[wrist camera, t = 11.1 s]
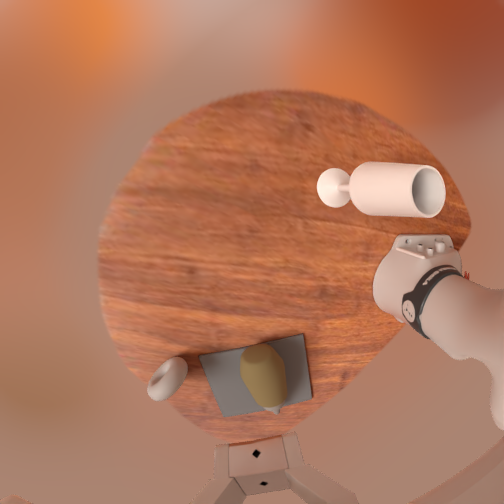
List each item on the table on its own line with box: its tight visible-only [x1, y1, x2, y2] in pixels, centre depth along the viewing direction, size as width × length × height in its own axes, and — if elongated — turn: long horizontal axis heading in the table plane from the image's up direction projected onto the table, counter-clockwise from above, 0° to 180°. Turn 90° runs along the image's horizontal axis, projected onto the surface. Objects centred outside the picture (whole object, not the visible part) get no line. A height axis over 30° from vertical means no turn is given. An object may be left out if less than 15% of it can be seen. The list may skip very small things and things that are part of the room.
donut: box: [147, 357, 188, 401], centre depth 44 cm, size 10×4×10 cm, turn 133°
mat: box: [199, 333, 312, 417], centre depth 50 cm, size 20×18×1 cm
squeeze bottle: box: [240, 344, 288, 414], centre depth 47 cm, size 8×8×18 cm
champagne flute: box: [317, 162, 446, 218], centre depth 32 cm, size 7×7×24 cm
